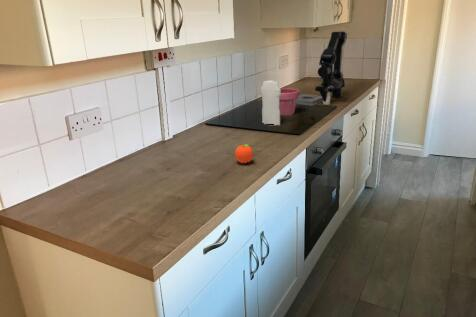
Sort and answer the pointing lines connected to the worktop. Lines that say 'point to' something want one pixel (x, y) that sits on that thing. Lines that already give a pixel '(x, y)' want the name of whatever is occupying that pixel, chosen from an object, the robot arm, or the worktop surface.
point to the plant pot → (288, 101)
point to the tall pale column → (270, 102)
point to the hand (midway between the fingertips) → (326, 100)
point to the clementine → (244, 153)
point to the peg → (327, 99)
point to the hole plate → (309, 99)
